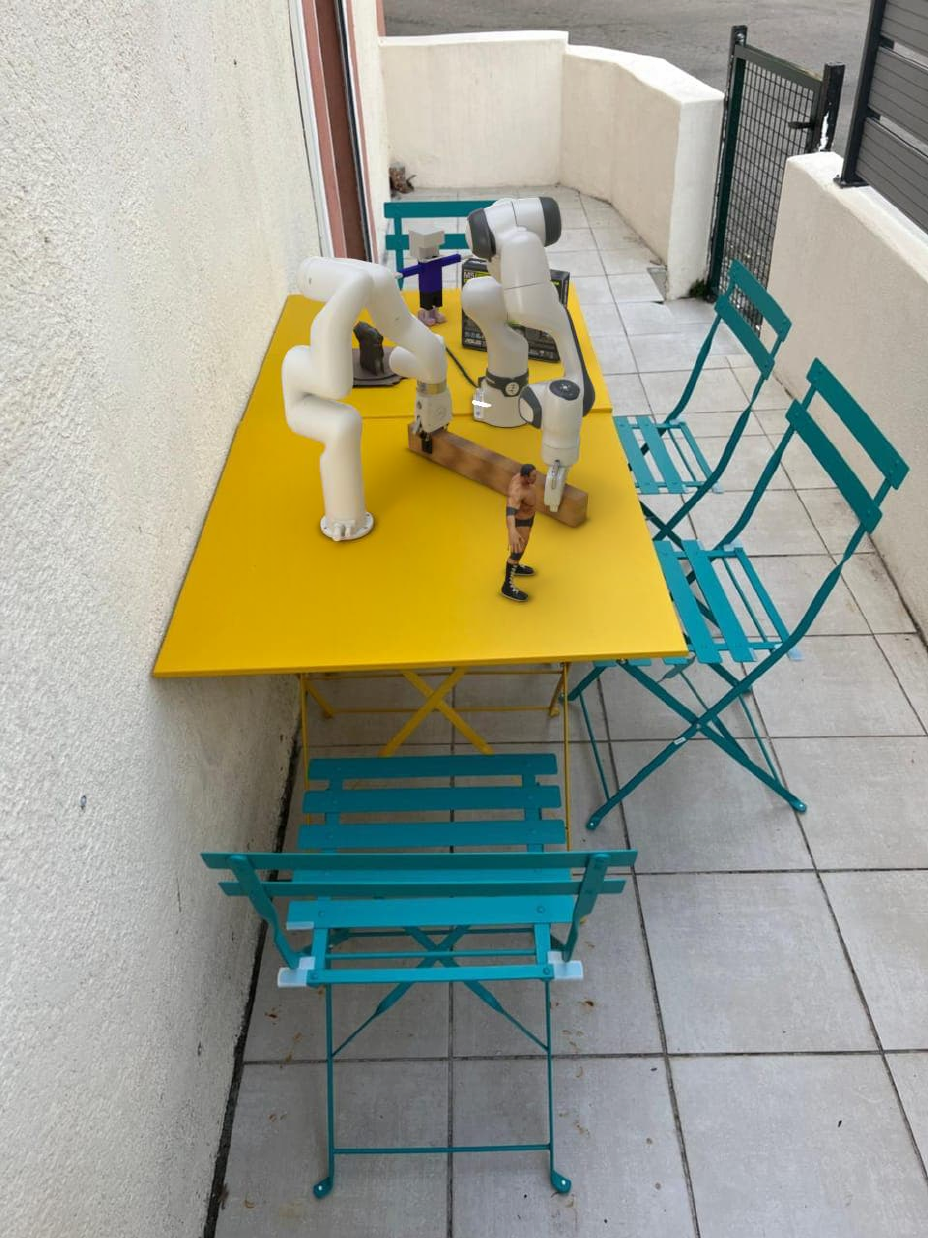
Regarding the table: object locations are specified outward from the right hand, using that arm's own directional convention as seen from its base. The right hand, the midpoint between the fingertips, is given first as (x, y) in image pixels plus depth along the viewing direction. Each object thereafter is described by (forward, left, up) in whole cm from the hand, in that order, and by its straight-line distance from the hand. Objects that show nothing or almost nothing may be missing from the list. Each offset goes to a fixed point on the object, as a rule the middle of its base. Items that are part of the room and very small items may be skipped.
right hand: (556, 501), depth 214 cm
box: (-94, +13, -3) cm, 95 cm away
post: (-17, -12, -3) cm, 21 cm away
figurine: (+26, -16, -3) cm, 31 cm away
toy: (-125, -9, -3) cm, 125 cm away
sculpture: (-91, -35, -3) cm, 97 cm away
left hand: (-33, -24, -1) cm, 41 cm away
